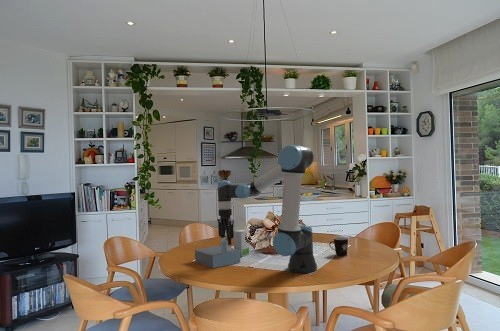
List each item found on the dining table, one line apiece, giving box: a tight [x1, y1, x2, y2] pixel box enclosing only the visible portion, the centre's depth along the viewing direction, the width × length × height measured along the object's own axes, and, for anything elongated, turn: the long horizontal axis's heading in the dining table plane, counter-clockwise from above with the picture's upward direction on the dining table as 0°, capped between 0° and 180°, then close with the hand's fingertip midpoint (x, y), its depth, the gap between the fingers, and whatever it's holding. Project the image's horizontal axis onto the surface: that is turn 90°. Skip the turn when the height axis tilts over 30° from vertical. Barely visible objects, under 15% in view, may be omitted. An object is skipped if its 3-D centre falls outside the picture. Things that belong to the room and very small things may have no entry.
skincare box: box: [233, 229, 250, 258], centre depth 221 cm, size 8×7×16 cm
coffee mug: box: [328, 236, 349, 257], centre depth 212 cm, size 12×9×10 cm
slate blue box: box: [194, 244, 239, 269], centre depth 206 cm, size 20×18×7 cm
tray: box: [212, 240, 241, 269], centre depth 205 cm, size 20×18×14 cm
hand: (226, 250), depth 198 cm, fingers open, 4 cm apart
